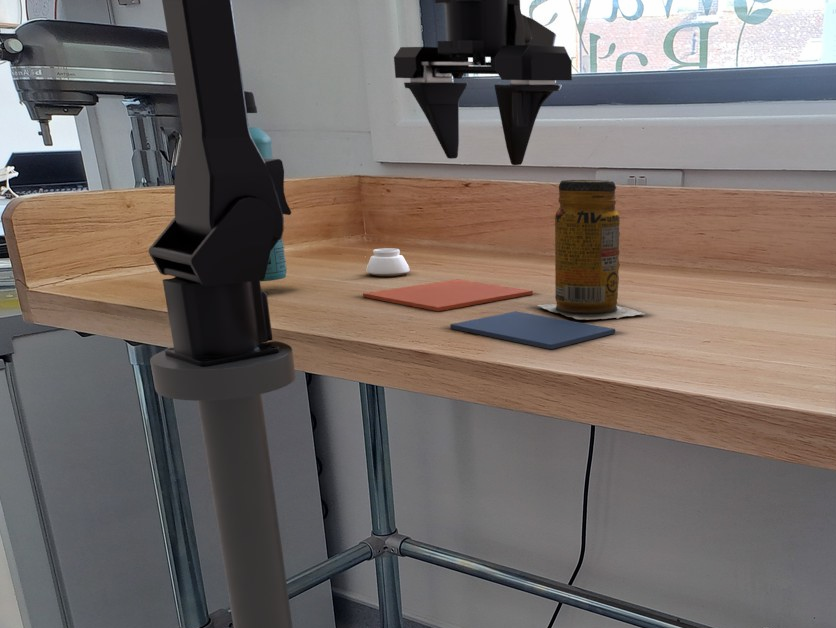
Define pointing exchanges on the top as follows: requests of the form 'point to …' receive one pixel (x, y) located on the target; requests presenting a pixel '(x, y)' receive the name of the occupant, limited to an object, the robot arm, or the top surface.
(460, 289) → the terracotta mat
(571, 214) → the condiment
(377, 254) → the white jar
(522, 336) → the slate mat
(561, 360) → the top surface
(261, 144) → the beverage bottle
